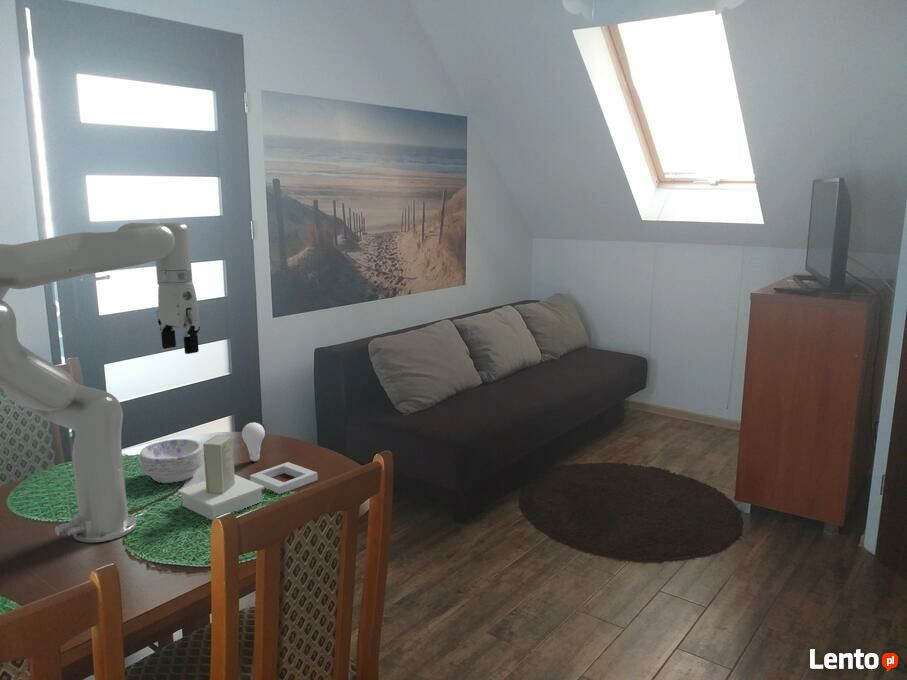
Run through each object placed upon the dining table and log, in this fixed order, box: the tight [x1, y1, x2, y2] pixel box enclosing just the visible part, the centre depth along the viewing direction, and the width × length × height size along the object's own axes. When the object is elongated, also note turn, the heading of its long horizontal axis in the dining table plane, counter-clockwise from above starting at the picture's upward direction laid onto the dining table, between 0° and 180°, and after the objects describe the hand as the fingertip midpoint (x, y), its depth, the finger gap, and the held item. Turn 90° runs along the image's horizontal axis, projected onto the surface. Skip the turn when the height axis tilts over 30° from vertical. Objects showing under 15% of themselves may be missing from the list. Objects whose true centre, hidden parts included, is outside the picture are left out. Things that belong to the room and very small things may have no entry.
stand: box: [177, 473, 265, 521], centre depth 170 cm, size 14×14×4 cm
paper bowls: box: [139, 438, 205, 484], centre depth 187 cm, size 15×15×8 cm
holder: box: [249, 461, 319, 495], centre depth 184 cm, size 12×12×2 cm
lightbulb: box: [241, 422, 266, 462], centre depth 197 cm, size 6×6×11 cm
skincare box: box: [202, 434, 235, 494], centre depth 168 cm, size 6×4×12 cm
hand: (180, 350), depth 168 cm, fingers open, 9 cm apart
